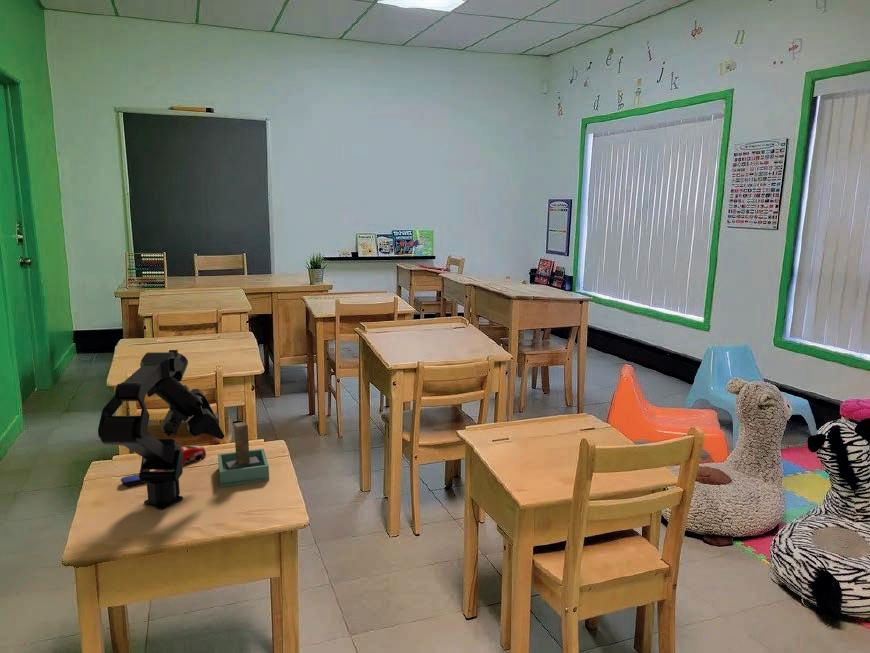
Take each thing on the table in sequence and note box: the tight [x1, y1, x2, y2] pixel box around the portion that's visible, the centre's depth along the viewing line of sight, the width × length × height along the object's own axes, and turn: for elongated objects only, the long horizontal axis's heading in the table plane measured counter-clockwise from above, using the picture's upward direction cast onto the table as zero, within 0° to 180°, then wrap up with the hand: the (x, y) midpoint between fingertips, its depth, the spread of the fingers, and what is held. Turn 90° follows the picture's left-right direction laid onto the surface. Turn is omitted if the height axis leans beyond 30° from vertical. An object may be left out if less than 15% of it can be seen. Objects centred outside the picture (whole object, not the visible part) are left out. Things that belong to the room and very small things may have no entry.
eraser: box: [120, 469, 164, 488], centre depth 166 cm, size 11×4×2 cm, turn 124°
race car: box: [162, 445, 207, 471], centre depth 177 cm, size 13×5×4 cm, turn 140°
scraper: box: [226, 421, 260, 470], centre depth 169 cm, size 8×4×13 cm, turn 121°
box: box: [217, 448, 270, 488], centre depth 171 cm, size 12×12×4 cm
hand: (220, 430), depth 166 cm, fingers open, 9 cm apart
